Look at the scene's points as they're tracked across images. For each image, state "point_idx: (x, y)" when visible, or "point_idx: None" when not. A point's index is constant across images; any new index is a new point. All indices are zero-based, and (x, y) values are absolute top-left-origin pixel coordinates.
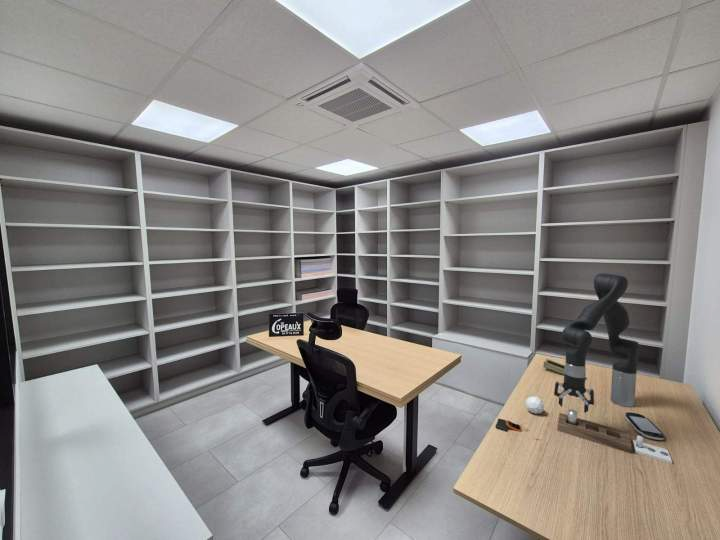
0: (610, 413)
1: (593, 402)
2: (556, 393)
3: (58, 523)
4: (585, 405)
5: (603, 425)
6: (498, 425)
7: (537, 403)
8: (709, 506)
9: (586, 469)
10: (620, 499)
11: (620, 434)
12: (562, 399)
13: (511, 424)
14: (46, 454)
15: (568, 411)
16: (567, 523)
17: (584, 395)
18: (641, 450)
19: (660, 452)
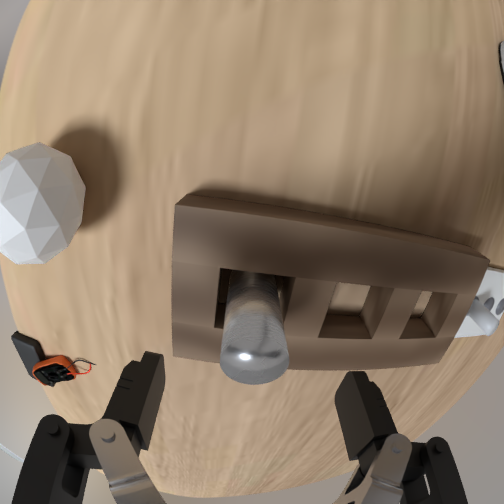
0: (462, 27)
1: (414, 482)
2: (80, 471)
3: (10, 455)
4: (355, 453)
5: (428, 251)
6: (32, 375)
7: (27, 258)
8: (442, 414)
9: (260, 448)
10: (301, 469)
11: (454, 303)
12: (148, 442)
13: (48, 379)
14: None
15: (221, 361)
16: (216, 494)
17: (398, 499)
18: (461, 328)
19: (497, 308)
